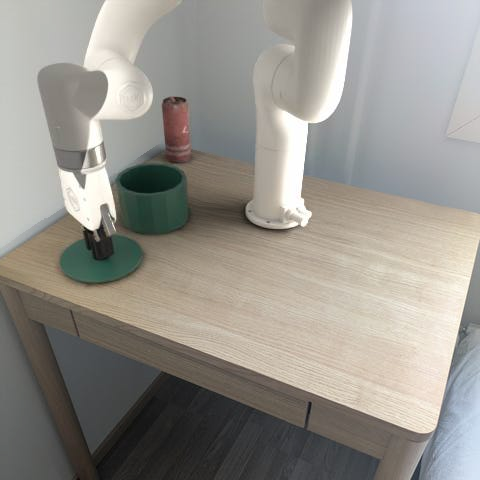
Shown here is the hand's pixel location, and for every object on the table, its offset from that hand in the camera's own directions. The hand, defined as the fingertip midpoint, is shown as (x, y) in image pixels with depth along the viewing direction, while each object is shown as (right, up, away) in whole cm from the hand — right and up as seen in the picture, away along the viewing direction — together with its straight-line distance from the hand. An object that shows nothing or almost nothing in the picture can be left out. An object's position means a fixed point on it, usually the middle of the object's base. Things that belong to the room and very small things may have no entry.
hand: (100, 251), depth 88 cm
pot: (+8, +9, +13) cm, 18 cm away
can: (+10, +28, +34) cm, 45 cm away
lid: (0, -1, +1) cm, 2 cm away
